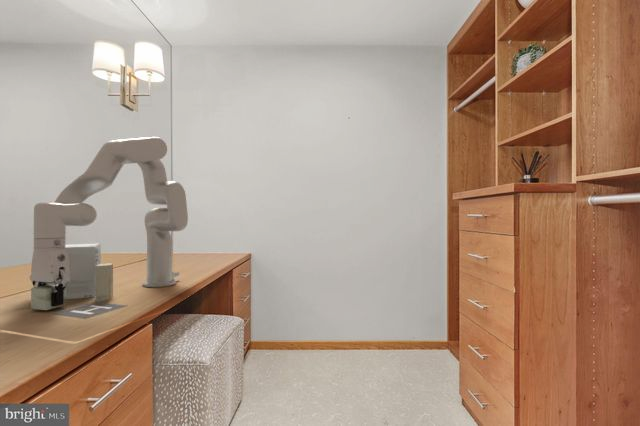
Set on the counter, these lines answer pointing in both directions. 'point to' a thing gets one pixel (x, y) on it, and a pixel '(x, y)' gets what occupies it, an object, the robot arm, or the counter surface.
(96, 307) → the letter card
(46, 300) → the sage block
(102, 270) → the skincare box
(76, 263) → the supplement box
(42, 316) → the counter surface
